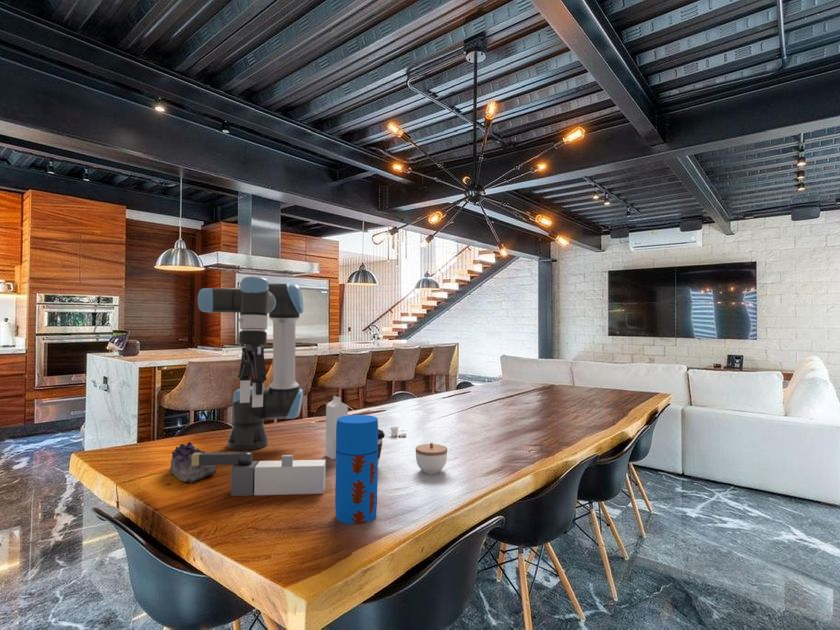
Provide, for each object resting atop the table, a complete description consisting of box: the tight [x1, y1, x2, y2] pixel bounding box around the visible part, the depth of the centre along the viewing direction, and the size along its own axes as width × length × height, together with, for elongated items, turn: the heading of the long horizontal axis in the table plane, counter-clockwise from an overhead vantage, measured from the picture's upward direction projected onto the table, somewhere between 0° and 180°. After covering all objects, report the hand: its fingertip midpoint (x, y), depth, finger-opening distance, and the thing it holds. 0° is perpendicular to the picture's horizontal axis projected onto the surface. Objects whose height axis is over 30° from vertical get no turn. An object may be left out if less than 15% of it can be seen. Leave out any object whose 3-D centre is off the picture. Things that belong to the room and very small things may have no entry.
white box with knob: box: [230, 454, 327, 497], centre depth 137 cm, size 6×26×11 cm, turn 96°
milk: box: [325, 395, 349, 460], centre depth 172 cm, size 6×6×22 cm
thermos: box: [334, 414, 379, 525], centre depth 120 cm, size 11×11×25 cm
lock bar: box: [192, 450, 253, 466], centre depth 135 cm, size 4×16×3 cm, turn 96°
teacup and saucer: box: [388, 426, 407, 438], centre depth 203 cm, size 9×8×4 cm
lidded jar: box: [415, 442, 448, 475], centre depth 157 cm, size 11×11×9 cm
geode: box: [169, 441, 217, 484], centre depth 151 cm, size 20×12×10 cm, turn 49°
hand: (250, 404), depth 133 cm, fingers open, 13 cm apart
